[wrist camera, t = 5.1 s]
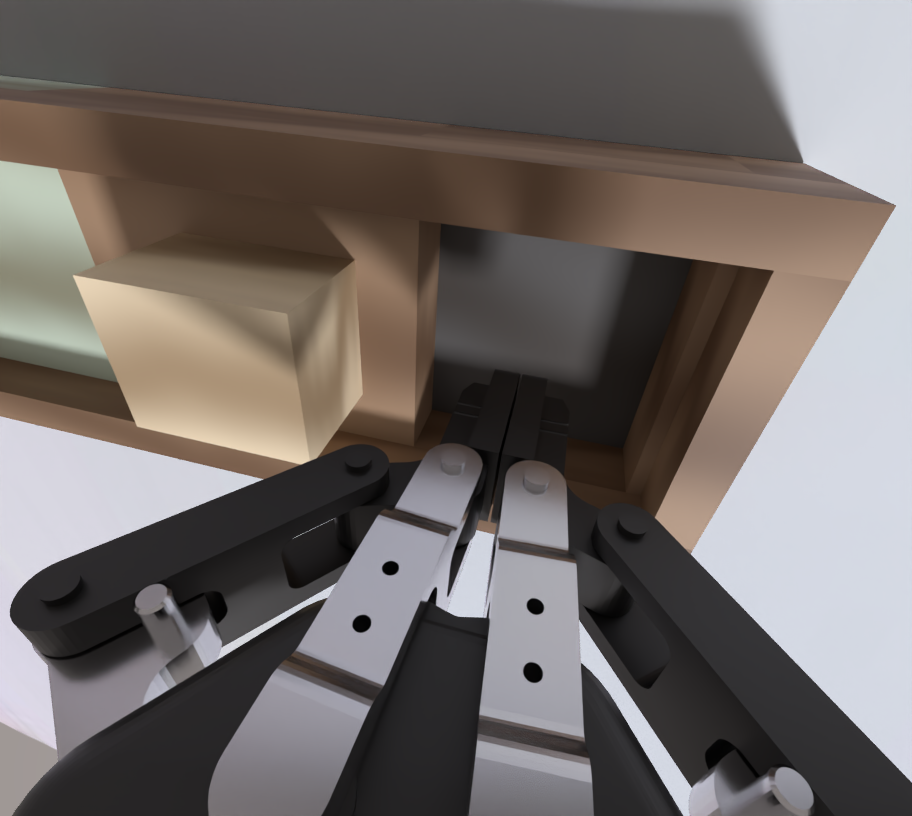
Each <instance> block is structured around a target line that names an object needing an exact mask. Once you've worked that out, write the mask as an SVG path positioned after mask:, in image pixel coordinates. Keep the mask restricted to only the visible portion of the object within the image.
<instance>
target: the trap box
mask: <svg viewBox="0 0 912 816" xmlns="http://www.w3.org/2000/svg"><path fill="white" fill-rule="evenodd" d="M895 207H896V205H894V204H891V203H889V202H887V201H885V200H883V199H881V198H878V197H876V196H874V195H872V194H870V193H868V192H865V191H863V190H861V189H859V188H857V187H854V186H852V185H850V184H848V183H846V182H844V181H841V180H839V179H837V178H835V177H833V176H830V175H828V174H826V173H824V172H822V171H820V170H817V169H815V168H813V167H811V166H809V165H807V164H804V163H795V162H785V161H776V160H767V159H758V158H749V157H740V156H731V155H722V154H713V153H703V152H694V151H685V150H676V149H667V148H658V147H649V146H640V145H630V144H621V143H612V142H603V141H594V140H585V139H576V138H567V137H558V136H548V135H539V134H530V133H521V132H512V131H503V130H494V129H485V128H475V127H466V126H457V125H448V124H439V123H430V122H421V121H412V120H402V119H393V118H384V117H375V116H366V115H357V114H348V113H339V112H330V111H320V110H311V109H302V108H293V107H284V106H275V105H266V104H257V103H247V102H238V101H229V100H220V99H211V98H202V97H193V96H184V95H175V94H165V93H156V92H147V91H138V90H129V89H120V88H111V87H102V86H92V85H83V84H74V83H65V82H56V81H47V80H38V79H29V78H20V77H10V76H1V75H0V416H2V417H6V418H10V419H14V420H19V421H23V422H27V423H31V424H35V425H39V426H44V427H48V428H52V429H56V430H60V431H65V432H69V433H73V434H77V435H81V436H85V437H90V438H94V439H98V440H102V441H106V442H111V443H115V444H119V445H123V446H127V447H132V448H136V449H140V450H144V451H148V452H152V453H157V454H161V455H165V456H169V457H173V458H178V459H182V460H186V461H190V462H194V463H198V464H203V465H207V466H211V467H215V468H219V469H224V470H228V471H232V472H236V473H240V474H244V475H249V476H253V477H257V478H261V479H266V478H269V477H271V476H274V475H276V474H279V473H281V472H284V471H286V470H289V469H291V468H294V467H296V466H299V465H301V464H297V463H292V462H288V461H284V460H279V459H275V458H271V457H266V456H262V455H258V454H253V453H249V452H245V451H240V450H236V449H232V448H227V447H223V446H219V445H214V444H210V443H206V442H202V441H197V440H193V439H189V438H184V437H180V436H176V435H171V434H167V433H163V432H158V431H154V430H150V429H145V428H141V427H137V425H136V423H135V420H134V418H133V416H132V413H131V411H130V409H129V406H128V404H127V402H126V399H125V397H124V395H123V392H122V390H121V387H120V385H119V383H118V380H117V378H116V376H115V373H114V371H113V369H112V366H111V364H110V362H109V359H108V357H107V355H106V352H105V350H104V348H103V345H102V343H101V341H100V338H99V336H98V333H97V331H96V329H95V326H94V324H93V322H92V319H91V317H90V315H89V312H88V310H87V308H86V305H85V303H84V301H83V298H82V296H81V294H80V291H79V289H78V287H77V284H76V282H75V279H74V277H73V275H74V274H77V273H79V272H82V271H84V270H87V269H90V268H92V267H95V266H97V265H100V264H102V263H105V262H107V261H110V260H112V259H115V258H117V257H120V256H122V255H125V254H128V253H130V252H133V251H135V250H138V249H140V248H143V247H145V246H148V245H150V244H153V243H155V242H158V241H160V240H163V239H166V238H168V237H171V236H173V235H176V234H178V233H188V234H194V235H200V236H207V237H213V238H219V239H225V240H232V241H238V242H244V243H251V244H257V245H263V246H270V247H276V248H282V249H289V250H295V251H301V252H308V253H314V254H320V255H326V256H333V257H339V258H345V259H352V260H355V269H356V286H357V304H358V321H359V338H360V355H361V373H362V390H363V395H362V396H361V397H360V399H359V400H358V402H357V403H356V404H355V406H354V407H353V409H352V410H351V411H350V413H349V414H348V416H347V417H346V418H345V420H344V421H343V423H342V424H341V425H340V427H339V428H338V430H337V431H336V432H335V434H334V435H333V436H332V438H331V439H330V441H329V442H328V443H327V445H326V446H325V448H324V449H323V450H322V452H321V453H320V455H319V456H318V457H321V456H323V455H326V454H328V453H331V452H333V451H336V450H338V449H341V448H343V447H346V446H349V445H354V444H367V445H372V446H375V447H377V448H379V449H381V450H382V451H383V452H385V454H386V455H387V457H388V459H389V463H392V462H413V461H418V460H422V459H423V458H424V456H425V455H426V453H427V452H428V451H429V450H430V449H432V448H433V447H435V446H438V445H439V444H440V442H441V440H442V437H443V435H444V433H445V430H446V428H447V426H448V423H449V421H450V419H451V416H452V414H453V413H454V409H455V407H456V405H457V403H458V400H459V398H460V395H461V393H462V391H463V390H464V389H465V388H467V387H468V386H469V385H471V384H472V383H474V382H475V383H480V384H485V385H490V382H491V379H492V376H493V374H494V371H495V369H499V370H504V371H509V372H515V373H520V380H519V385H520V381H521V377H522V374H526V375H531V376H536V377H541V378H547V379H548V380H547V386H546V392H545V396H547V397H552V398H557V399H563V401H564V402H565V404H566V406H567V408H568V410H569V412H570V413H569V424H568V435H567V448H566V459H565V470H564V477H565V481H566V483H567V485H568V487H569V488H570V490H571V491H572V492H573V493H574V494H575V495H576V496H577V497H579V498H580V499H582V500H583V501H585V502H587V503H588V504H591V505H593V506H595V507H597V508H599V509H601V510H602V509H603V508H604V507H605V506H607V505H610V504H614V503H626V504H631V505H634V506H637V507H640V508H642V509H644V510H645V511H647V512H648V513H650V514H651V515H652V516H654V517H655V518H656V519H657V520H658V521H659V522H660V523H661V524H662V525H663V526H664V527H665V528H666V530H667V531H668V532H669V533H670V534H671V535H672V536H673V537H674V538H675V539H676V540H677V541H678V542H679V543H680V544H681V545H682V546H683V547H684V548H685V549H686V550H687V551H688V552H689V553H690V554H691V552H692V550H693V549H694V547H695V545H696V544H697V542H698V540H699V538H700V537H701V535H702V533H703V532H704V530H705V528H706V527H707V525H708V523H709V521H710V520H711V518H712V516H713V515H714V513H715V511H716V510H717V508H718V506H719V505H720V503H721V501H722V499H723V498H724V496H725V494H726V493H727V491H728V489H729V488H730V486H731V484H732V483H733V481H734V479H735V477H736V476H737V474H738V472H739V471H740V469H741V467H742V466H743V464H744V462H745V461H746V459H747V457H748V455H749V454H750V452H751V450H752V449H753V447H754V445H755V444H756V442H757V440H758V439H759V437H760V435H761V433H762V432H763V430H764V428H765V427H766V425H767V423H768V422H769V420H770V418H771V416H772V415H773V413H774V411H775V410H776V408H777V406H778V405H779V403H780V401H781V400H782V398H783V396H784V394H785V393H786V391H787V389H788V388H789V386H790V384H791V383H792V381H793V379H794V378H795V376H796V374H797V372H798V371H799V369H800V367H801V366H802V364H803V362H804V361H805V359H806V357H807V356H808V354H809V352H810V350H811V349H812V347H813V345H814V344H815V342H816V340H817V339H818V337H819V335H820V334H821V332H822V330H823V328H824V327H825V325H826V323H827V322H828V320H829V318H830V317H831V315H832V313H833V312H834V310H835V308H836V306H837V305H838V303H839V301H840V300H841V298H842V296H843V295H844V293H845V291H846V289H847V288H848V286H849V284H850V283H851V281H852V279H853V278H854V276H855V274H856V273H857V271H858V269H859V267H860V266H861V264H862V262H863V261H864V259H865V257H866V256H867V254H868V252H869V251H870V249H871V247H872V245H873V244H874V242H875V240H876V239H877V237H878V235H879V234H880V232H881V230H882V229H883V227H884V225H885V223H886V222H887V220H888V218H889V217H890V215H891V213H892V212H893V210H894V208H895ZM519 385H518V389H519ZM517 393H518V391H517ZM516 397H517V396H516ZM318 457H317V458H318ZM495 492H496V490H495ZM494 498H495V494H494ZM494 498H493V502H492V506H491V510H490V514H489V518H488V522H487V521H483V520H479V522H478V525H477V529H476V530H479V531H483V532H487V533H491V534H495V530H496V525H497V524H496V523H492V522H490V521H491V515H492V509H493V503H494Z"/></svg>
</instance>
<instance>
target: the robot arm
mask: <svg viewBox="0 0 912 816" xmlns="http://www.w3.org/2000/svg"><path fill="white" fill-rule="evenodd" d="M519 380H520V373H515V372H509V371H504V370H499V369H495V371H494V374H493V376H492V379H491V382H490V385H485V384H480V383H475V382H474V383H472V384H471V385H469V386H468V387H467V388H465V389H464V390H463V391H462V393H461V395H460V398H459V400H458V403H457V405H456V407H455V409H454V413H453V414H452V416H451V419H450V421H449V423H448V426H447V428H446V430H445V433H444V435H443V437H442V440H441V442H440V444H439V445H438V446H435V447H433V448H432V449H430V450H429V451H428V452H427V453H426V455H425V456H424V458H423V459H422V460H418V461H413V462H392V463H389V459H388V457H387V455H386V454H385V452H383V451H382V450H381V449H379V448H377V447H375V446H372V445H367V444H354V445H349V446H346V447H343V448H341V449H338V450H336V451H333V452H331V453H328V454H326V455H323V456H321V457H318V458H316V459H313V460H311V461H308V462H306V463H304V464H301V465H299V466H296V467H294V468H291V469H289V470H286V471H284V472H281V473H279V474H276V475H274V476H271V477H269V478H266V479H264V480H261V481H259V482H256V483H254V484H251V485H249V486H246V487H244V488H241V489H239V490H236V491H234V492H231V493H229V494H226V495H224V496H221V497H219V498H216V499H214V500H211V501H209V502H206V503H204V504H201V505H199V506H196V507H194V508H191V509H189V510H186V511H184V512H181V513H179V514H176V515H174V516H171V517H169V518H166V519H164V520H161V521H159V522H156V523H154V524H151V525H149V526H146V527H144V528H141V529H139V530H136V531H134V532H131V533H129V534H126V535H124V536H121V537H119V538H116V539H114V540H112V541H109V542H107V543H104V544H102V545H99V546H97V547H94V548H92V549H89V550H87V551H84V552H82V553H79V554H77V555H74V556H72V557H69V558H67V559H64V560H62V561H59V562H57V563H55V564H52V565H50V566H49V567H47V568H45V569H43V570H42V571H40V572H39V573H37V574H36V575H35V576H33V577H32V578H31V579H30V580H28V581H27V582H26V583H25V584H24V585H23V586H22V588H21V589H20V590H19V591H18V593H17V594H16V596H15V597H14V599H13V602H12V604H11V608H10V617H11V620H12V622H13V623H14V624H15V625H16V626H17V628H18V629H19V630H20V631H21V632H22V633H23V634H24V635H25V636H26V637H27V639H28V640H29V641H30V642H31V643H32V646H33V648H34V650H35V652H36V653H37V654H38V655H39V656H40V657H41V658H42V660H43V661H44V662H45V663H46V664H47V665H48V671H49V680H50V689H51V698H52V707H53V717H54V726H55V735H56V744H57V752H58V762H57V763H56V764H55V765H54V766H53V767H52V768H51V769H50V770H49V771H48V772H47V773H46V774H45V775H44V776H43V777H42V778H41V779H40V780H39V782H38V783H37V784H36V785H35V786H34V787H33V788H32V789H31V791H30V792H29V793H28V794H27V796H26V797H25V798H24V800H23V801H22V803H21V804H20V805H19V806H18V808H17V809H16V810H15V812H14V814H13V815H12V816H683V815H682V813H681V811H680V810H679V808H678V806H677V805H676V803H675V801H674V800H673V798H672V796H671V795H670V793H669V791H668V790H667V788H666V786H665V785H664V783H663V781H662V780H661V778H660V776H659V775H658V773H657V771H656V770H655V768H654V766H653V765H652V763H651V761H650V760H649V758H648V756H647V755H646V753H645V752H644V750H643V748H642V747H641V745H640V743H639V742H638V740H637V738H636V737H635V735H634V733H633V732H632V730H631V728H630V727H629V725H628V723H627V722H626V720H625V718H624V717H623V715H622V713H621V712H620V710H619V708H618V707H617V705H616V703H615V702H614V700H613V699H612V697H611V696H610V694H609V693H608V691H607V690H606V689H605V687H604V686H603V685H602V684H601V682H600V681H599V680H598V679H597V678H596V677H595V676H594V675H593V674H592V672H591V671H590V670H588V669H587V668H586V667H585V666H584V665H583V664H582V663H581V657H580V634H579V620H580V622H581V623H582V625H583V626H584V628H585V629H586V631H587V632H588V634H589V635H590V637H591V638H592V640H593V641H594V643H595V644H596V646H597V647H598V649H599V650H600V652H601V653H602V655H603V656H604V657H605V659H606V660H607V662H608V663H609V665H610V666H611V668H612V669H613V671H614V672H615V674H616V675H617V677H618V678H619V680H620V681H621V683H622V684H623V686H624V687H625V689H626V690H627V692H628V693H629V695H630V696H631V698H632V699H633V701H634V702H635V704H636V705H637V707H638V708H639V710H640V711H641V713H642V714H643V716H644V717H645V719H646V720H647V722H648V723H649V725H650V726H651V728H652V729H653V731H654V732H655V734H656V735H657V737H658V738H659V740H660V741H661V743H662V744H663V746H664V747H665V749H666V750H667V751H668V753H669V754H670V756H671V757H672V759H673V760H674V762H675V763H676V765H677V766H678V768H679V769H680V771H681V772H682V774H683V775H684V777H685V778H686V780H687V781H688V783H689V784H690V786H691V787H692V790H691V793H690V797H689V814H690V816H912V783H911V782H910V780H909V779H908V778H907V777H906V776H905V775H904V774H903V773H902V772H901V771H900V770H899V769H898V768H897V767H896V766H895V765H894V764H893V763H892V762H891V761H890V760H889V759H888V758H887V757H886V756H885V755H884V754H883V753H882V752H881V751H880V749H879V748H878V747H877V746H876V745H875V744H874V743H873V742H872V741H871V740H870V739H869V738H868V737H867V736H866V735H865V734H864V733H863V732H862V731H861V730H860V729H859V728H858V727H857V726H856V725H855V724H854V723H853V722H852V721H851V720H850V719H849V717H848V716H847V715H846V714H845V713H844V712H843V711H842V710H841V709H840V708H839V707H838V706H837V705H836V704H835V703H834V702H833V701H832V700H831V699H830V698H829V697H828V696H827V695H826V694H825V693H824V692H823V691H822V690H821V689H820V688H819V686H818V685H817V684H816V683H815V682H814V681H813V680H812V679H811V678H810V677H809V676H808V675H807V674H806V673H805V672H804V671H803V670H802V669H801V668H800V667H799V666H798V665H797V664H796V663H795V662H794V661H793V660H792V659H791V658H790V657H789V656H788V654H787V653H786V652H785V651H784V650H783V649H782V648H781V647H780V646H779V645H778V644H777V643H776V642H775V641H774V640H773V639H772V638H771V637H770V636H769V635H768V634H767V633H766V632H765V631H764V630H763V629H762V628H761V627H760V626H759V625H758V623H757V622H756V621H755V620H754V619H753V618H752V617H751V616H750V615H749V614H748V613H747V612H746V611H745V610H744V609H743V608H742V607H741V606H740V605H739V604H738V603H737V602H736V601H735V600H734V599H733V598H732V597H731V596H730V595H729V594H728V593H727V591H726V590H725V589H724V588H723V587H722V586H721V585H720V584H719V583H718V582H717V581H716V580H715V579H714V578H713V577H712V576H711V575H710V574H709V573H708V572H707V571H706V570H705V569H704V568H703V567H702V566H701V565H700V564H699V563H698V562H697V561H696V559H695V558H694V557H693V556H692V555H691V554H690V553H689V552H688V551H687V550H686V549H685V548H684V547H683V546H682V545H681V544H680V543H679V542H678V541H677V540H676V539H675V538H674V537H673V536H672V535H671V534H670V533H669V532H668V531H667V530H666V528H665V527H664V526H663V525H662V524H661V523H660V522H659V521H658V520H657V519H656V518H655V517H654V516H652V515H651V514H650V513H648V512H647V511H645V510H644V509H642V508H640V507H637V506H634V505H631V504H626V503H614V504H610V505H607V506H605V507H604V508H603V509H602V510H601V509H599V508H597V507H595V506H593V505H591V504H588V503H587V502H585V501H583V500H582V499H580V498H579V497H577V496H576V495H575V494H574V493H573V492H572V491H571V490H570V488H569V487H568V485H567V483H566V481H565V477H564V470H565V459H566V448H567V435H568V424H569V413H570V412H569V410H568V408H567V406H566V404H565V402H564V401H563V399H557V398H552V397H547V396H545V392H546V386H547V380H548V379H547V378H541V377H536V376H531V375H526V374H522V377H521V381H520V385H519ZM518 385H519V389H518ZM517 391H518V393H517ZM516 396H517V397H516ZM495 490H496V492H495ZM494 494H495V498H494ZM493 498H494V503H493V509H492V515H491V521H490V522H492V523H496V524H497V525H496V530H495V536H494V541H493V547H492V552H491V560H490V568H489V575H488V583H487V591H486V598H485V606H484V614H483V618H475V617H457V616H454V615H452V614H450V613H448V612H447V610H448V607H449V604H450V601H451V598H452V596H453V593H454V590H455V588H456V585H457V582H458V579H459V577H460V574H461V571H462V569H463V566H464V563H465V561H466V558H467V555H468V553H469V550H470V547H471V544H472V538H473V537H474V535H475V532H476V529H477V525H478V522H479V520H483V521H487V522H488V518H489V514H490V510H491V506H492V502H493ZM331 519H333V520H331ZM329 520H331V521H329ZM327 521H329V522H327ZM325 522H327V523H325ZM323 523H325V524H323ZM321 524H323V525H321ZM319 525H320V526H319ZM317 526H318V527H317ZM315 527H316V528H315ZM313 528H314V529H313ZM311 529H312V530H311ZM309 530H310V531H309ZM307 531H308V532H307ZM305 532H306V533H305ZM302 533H304V534H302ZM300 534H302V535H300ZM298 535H300V536H298ZM296 536H298V537H296ZM294 537H296V538H294ZM293 538H294V539H293ZM335 583H337V584H336V585H335V587H334V589H333V590H332V592H331V594H330V595H329V597H328V598H326V599H323V600H320V601H317V602H315V603H313V604H310V605H308V606H306V607H304V608H302V609H301V610H299V611H297V612H296V613H294V614H292V615H291V616H289V617H287V618H286V619H284V620H282V621H281V622H279V623H278V624H276V625H274V626H273V627H271V628H269V629H268V630H266V631H264V632H263V633H261V634H259V635H258V636H256V637H255V638H253V639H251V640H250V641H248V642H246V643H245V644H243V645H241V646H240V647H238V648H236V649H235V650H233V651H232V652H230V653H228V654H227V655H225V656H223V657H222V658H220V659H218V660H217V658H218V656H219V654H220V651H221V647H223V646H225V645H227V644H229V643H230V642H232V641H234V640H236V639H237V638H239V637H241V636H243V635H245V634H246V633H248V632H250V631H252V630H253V629H255V628H257V627H259V626H261V625H262V624H264V623H266V622H268V621H269V620H271V619H273V618H275V617H277V616H278V615H280V614H282V613H284V612H285V611H287V610H289V609H291V608H293V607H294V606H296V605H298V604H300V603H301V602H303V601H305V600H307V599H309V598H310V597H312V596H314V595H316V594H317V593H319V592H321V591H323V590H325V589H326V588H328V587H330V586H332V585H334V584H335ZM216 660H217V661H216Z"/></svg>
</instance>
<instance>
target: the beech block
mask: <svg viewBox="0 0 912 816" xmlns="http://www.w3.org/2000/svg"><path fill="white" fill-rule="evenodd" d="M73 277H74V279H75V282H76V284H77V287H78V289H79V291H80V294H81V296H82V298H83V301H84V303H85V305H86V308H87V310H88V312H89V315H90V317H91V319H92V322H93V324H94V326H95V329H96V331H97V333H98V336H99V338H100V341H101V343H102V345H103V348H104V350H105V352H106V355H107V357H108V359H109V362H110V364H111V366H112V369H113V371H114V373H115V376H116V378H117V380H118V383H119V385H120V387H121V390H122V392H123V395H124V397H125V399H126V402H127V404H128V406H129V409H130V411H131V413H132V416H133V418H134V420H135V423H136V425H137V427H141V428H145V429H150V430H154V431H158V432H163V433H167V434H171V435H176V436H180V437H184V438H189V439H193V440H197V441H202V442H206V443H210V444H214V445H219V446H223V447H227V448H232V449H236V450H240V451H245V452H249V453H253V454H258V455H262V456H266V457H271V458H275V459H279V460H284V461H288V462H292V463H297V464H304V463H306V462H308V461H311V460H313V459H316V458H317V457H318V456H319V455H320V453H321V452H322V450H323V449H324V448H325V446H326V445H327V443H328V442H329V441H330V439H331V438H332V436H333V435H334V434H335V432H336V431H337V430H338V428H339V427H340V425H341V424H342V423H343V421H344V420H345V418H346V417H347V416H348V414H349V413H350V411H351V410H352V409H353V407H354V406H355V404H356V403H357V402H358V400H359V399H360V397H361V396H362V395H363V390H362V373H361V355H360V338H359V321H358V304H357V286H356V269H355V260H352V259H345V258H339V257H333V256H326V255H320V254H314V253H308V252H301V251H295V250H289V249H282V248H276V247H270V246H263V245H257V244H251V243H244V242H238V241H232V240H225V239H219V238H213V237H207V236H200V235H194V234H188V233H178V234H176V235H173V236H171V237H168V238H166V239H163V240H160V241H158V242H155V243H153V244H150V245H148V246H145V247H143V248H140V249H138V250H135V251H133V252H130V253H128V254H125V255H122V256H120V257H117V258H115V259H112V260H110V261H107V262H105V263H102V264H100V265H97V266H95V267H92V268H90V269H87V270H84V271H82V272H79V273H77V274H74V275H73Z"/></svg>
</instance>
